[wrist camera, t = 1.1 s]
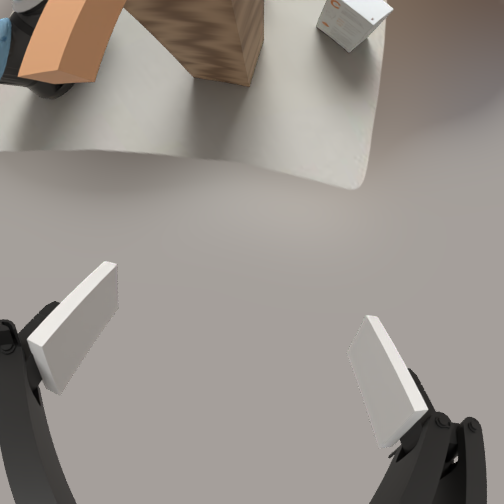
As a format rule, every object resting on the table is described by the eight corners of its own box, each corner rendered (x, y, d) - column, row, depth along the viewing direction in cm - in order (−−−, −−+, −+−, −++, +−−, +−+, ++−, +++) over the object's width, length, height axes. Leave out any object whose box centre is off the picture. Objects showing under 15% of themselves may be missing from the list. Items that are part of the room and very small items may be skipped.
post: (193, 77, 40) (65, -41, 5) (209, 31, 37) (130, -112, 2) (249, 86, 41) (214, -69, 6) (263, 39, 37) (261, -126, 2)
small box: (368, 37, 36) (395, 9, 23) (349, 53, 37) (374, 26, 25) (334, 10, 34) (353, -24, 22) (314, 26, 36) (329, -9, 24)
